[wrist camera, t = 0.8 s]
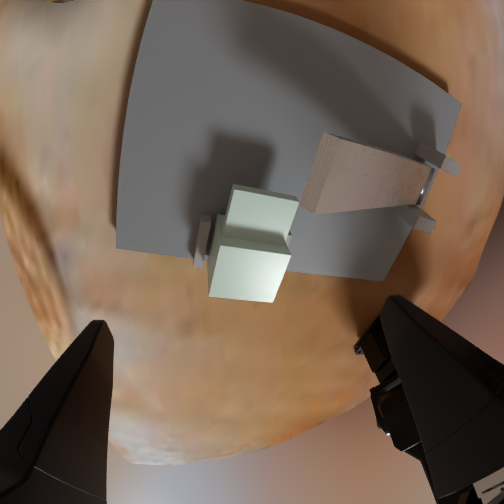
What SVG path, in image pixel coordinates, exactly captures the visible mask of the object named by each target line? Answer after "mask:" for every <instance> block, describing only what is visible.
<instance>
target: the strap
mask: <svg viewBox="0 0 504 504" xmlns="http://www.w3.org/2000/svg"><path fill="white" fill-rule="evenodd" d="M435 170H436V169H434V168H432V167H431V166H429V165H427V164H425V163H423V162H420V161H417V160H414V159H411V158H409V157H406V156H403V155H400V154H397V153H394V152H391V151H388V150H385V149H382V148H379V147H376V146H373V145H370V144H366V143H363V142H360V141H356V140H353V139H349V138H345V137H342V136H338V135H334V134H330V133H326V132H323V135H322V138H321V141H320V144H319V147H318V150H317V153H316V156H315V159H314V162H313V165H312V168H311V171H310V174H309V177H308V180H307V182H306V185H305V188H304V191H303V194H302V197H301V200H300V203H299V205H300V206H301V207H303V208H304V209H306V210H307V211H309V212H310V213H311V214H313V215H317V214H326V213H335V212H344V211H353V210H362V209H372V208H382V207H392V206H403V205H414V204H416V205H419V206H420V204H421V202H422V200H423V198H424V196H425V193H426V191H427V189H428V187H429V184H430V182H431V179H432V177H433V175H434V172H435Z"/></svg>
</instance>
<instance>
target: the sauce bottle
mask: <svg viewBox="0 0 504 504" xmlns="http://www.w3.org/2000/svg"><path fill="white" fill-rule="evenodd" d="M43 1H52V2H55V3H64V2H69V1H73V0H43Z"/></svg>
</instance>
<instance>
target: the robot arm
mask: <svg viewBox="0 0 504 504" xmlns="http://www.w3.org/2000/svg"><path fill="white" fill-rule="evenodd" d="M355 353H356V354H357V355H360V354H364V355H365V357H366V359H367V361H368V364H369V366H370V368H371V370H372V372H373V373H375V374H376V376H377V378H378V381H379V383H380V384H379V385H377V386H376V387H373V388H371V389H370V393H371V400H372V403H373V407H374V411H375V415H376V420H377V426H378V428H380V429H383V431H384V432H385V433H386V434H387V435H388V436H391V438H392V441H393V444H394V446H395V447H396V448H397V449H399V450H400V451H402V452H403V451H404V452H406V453H408V454H409V455H411V456H413V457H415V458H416V459H418V460H420V462H421V464H422V466H423V469H424V471H425V474H426V476H427V479H428V481H429V484H430V487H431V490H432V492H433V494H434V497H435V500H436V503H437V504H504V365H503V364H502V363H500V362H498V361H497V360H495V359H494V358H492V357H491V356H489V355H488V354H486V353H485V352H483V351H482V350H480V349H479V348H478V347H475V345H473V344H472V343H470V342H469V341H468V340H466V339H465V338H463V337H462V336H460V335H459V334H457V333H456V332H455V331H453V330H451V329H450V328H449V327H447V326H446V325H444V324H443V323H441V322H440V321H438V320H437V319H435V318H434V317H432V316H431V315H429V314H428V313H426V312H425V311H423V310H422V309H420V308H419V307H417V306H416V305H414V304H413V303H411V302H410V301H408V300H406V299H405V298H403V297H402V296H400V295H391V296H388V297H387V298H386V300H385V303H384V305H383V307H382V310H381V312H380V316H379V317H378V318H377V320H376V321H375V323H374V324H373V325H372V327H371V328H370V330H369V331H368V333H367V334H366V335H365V337H364V338H363V340H362V341H361V342H360V344H359V345H358V347H357V348H356V349H355ZM113 357H114V339H113V336H112V334H111V332H110V330H109V327H108V325H107V323H106V321H104V320H93V321H91V322H90V323H89V324H88V325H87V327H86V328H85V329H84V330H83V331H82V332H81V333H80V334H79V336H78V337H77V338H76V339H75V340H74V341H73V342H72V344H71V345H70V346H69V347H68V348H67V349H66V350H65V352H64V353H63V354H62V355H61V356H60V358H59V359H58V360H57V361H56V362H55V364H54V365H53V366H52V367H51V368H50V370H49V371H48V372H47V373H46V374H45V376H44V377H43V378H42V380H41V381H40V382H39V383H38V384H37V386H36V387H35V388H34V389H33V391H32V392H31V393H30V394H29V396H28V398H26V400H25V401H24V402H23V403H22V405H21V406H20V407H19V409H18V410H17V411H16V412H15V414H14V415H13V416H12V417H11V418H10V420H9V421H8V422H7V423H6V424H5V425H4V427H3V428H2V429H1V430H0V504H107V501H106V473H107V446H108V431H109V419H110V408H111V399H112V389H113Z"/></svg>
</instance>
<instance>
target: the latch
mask: <svg viewBox="0 0 504 504" xmlns="http://www.w3.org/2000/svg"><path fill="white" fill-rule="evenodd" d="M298 205H299V201H298V199H297V198H296V196H292V195H287V194H283V193H278V192H273V191H268V190H263V189H258V188H253V187H247V186H242V185H236V184H233V186H232V190H231V194H230V198H229V202H228V206H227V210H226V215H219V214H217V218H216V223H215V227H214V232H213V236H212V241H211V246H210V250H209V255H208V260H207V266H208V292H209V296H210V297H220V298H229V299H239V300H250V301H261V302H272V303H273V300H274V298H275V296H276V293H277V291H278V288H279V286H280V283H281V281H282V278H283V276H284V273H285V270H286V268H287V265H288V263H289V260H290V258H291V253H290V251H289V249H288V246H287V244H286V242H285V241H286V238H287V235H288V233H289V230H290V227H291V224H292V222H293V219H294V216H295V213H296V210H297V207H298Z"/></svg>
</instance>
